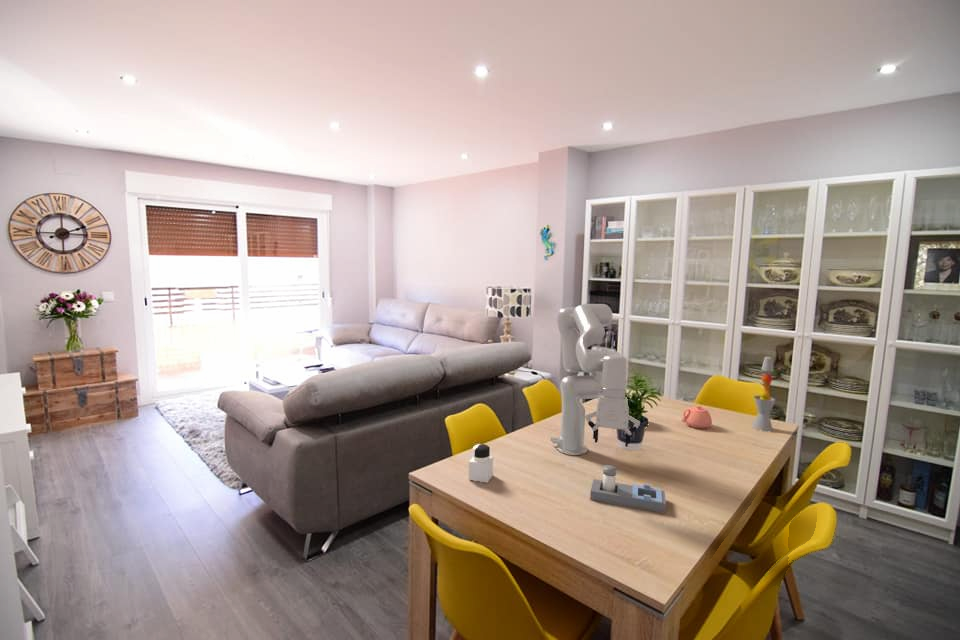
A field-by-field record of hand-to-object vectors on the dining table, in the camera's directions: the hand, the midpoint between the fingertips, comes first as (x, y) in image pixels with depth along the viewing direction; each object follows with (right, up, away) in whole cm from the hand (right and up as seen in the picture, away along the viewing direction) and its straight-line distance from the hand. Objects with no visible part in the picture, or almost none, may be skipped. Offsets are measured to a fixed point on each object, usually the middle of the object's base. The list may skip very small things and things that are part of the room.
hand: (611, 443), depth 150 cm
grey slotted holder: (+5, -19, 0) cm, 19 cm away
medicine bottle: (-43, -17, +15) cm, 49 cm away
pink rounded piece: (+62, -11, +72) cm, 96 cm away
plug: (0, -18, +3) cm, 19 cm away
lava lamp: (+93, -12, +69) cm, 116 cm away
